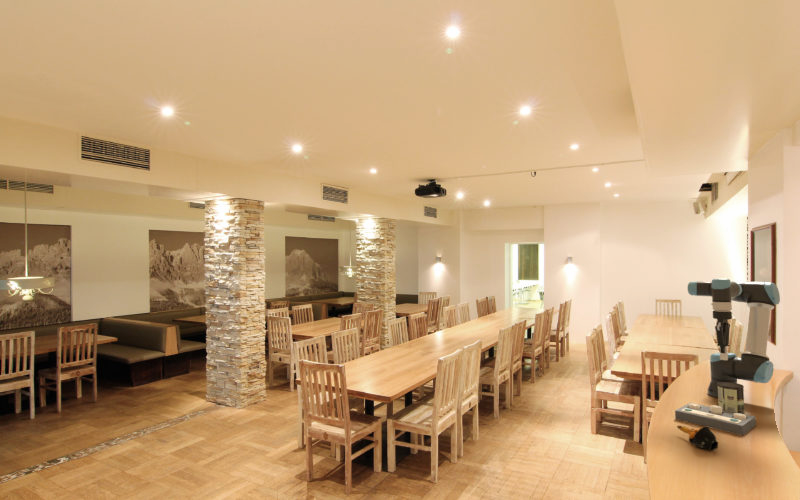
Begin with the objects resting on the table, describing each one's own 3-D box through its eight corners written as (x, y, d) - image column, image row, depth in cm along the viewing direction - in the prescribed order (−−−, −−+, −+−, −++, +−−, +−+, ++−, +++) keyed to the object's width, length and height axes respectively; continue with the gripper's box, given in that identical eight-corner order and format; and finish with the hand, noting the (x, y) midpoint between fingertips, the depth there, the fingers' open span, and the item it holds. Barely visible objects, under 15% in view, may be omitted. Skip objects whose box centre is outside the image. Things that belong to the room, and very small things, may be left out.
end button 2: (735, 423, 202) (735, 412, 202) (747, 426, 198) (747, 414, 198) (732, 425, 199) (732, 414, 199) (744, 428, 196) (744, 417, 196)
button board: (690, 410, 220) (690, 401, 220) (755, 425, 199) (755, 415, 200) (675, 419, 209) (675, 409, 209) (742, 435, 188) (742, 424, 189)
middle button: (712, 415, 209) (712, 404, 209) (723, 417, 205) (723, 406, 206) (709, 417, 206) (708, 406, 206) (720, 420, 203) (720, 408, 203)
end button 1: (691, 413, 216) (690, 402, 216) (701, 415, 213) (701, 405, 213) (687, 415, 213) (687, 404, 214) (698, 417, 210) (697, 407, 210)
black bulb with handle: (706, 443, 170) (665, 414, 186) (706, 463, 174) (667, 433, 190) (724, 432, 172) (682, 404, 188) (724, 452, 176) (684, 423, 192)
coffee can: (737, 410, 219) (736, 382, 219) (749, 418, 209) (748, 387, 209) (714, 409, 221) (713, 381, 222) (724, 416, 211) (723, 386, 211)
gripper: (717, 309, 222) (719, 356, 221) (708, 311, 214) (709, 360, 213) (735, 310, 216) (737, 359, 215) (726, 312, 208) (728, 363, 207)
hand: (723, 359), depth 214 cm, fingers closed
